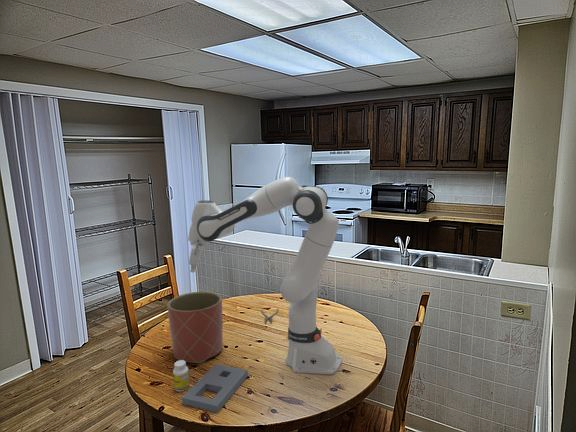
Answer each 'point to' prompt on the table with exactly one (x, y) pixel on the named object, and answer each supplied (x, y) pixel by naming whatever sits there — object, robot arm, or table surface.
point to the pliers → (269, 317)
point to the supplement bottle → (181, 376)
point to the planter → (196, 326)
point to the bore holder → (215, 387)
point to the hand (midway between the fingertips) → (193, 267)
